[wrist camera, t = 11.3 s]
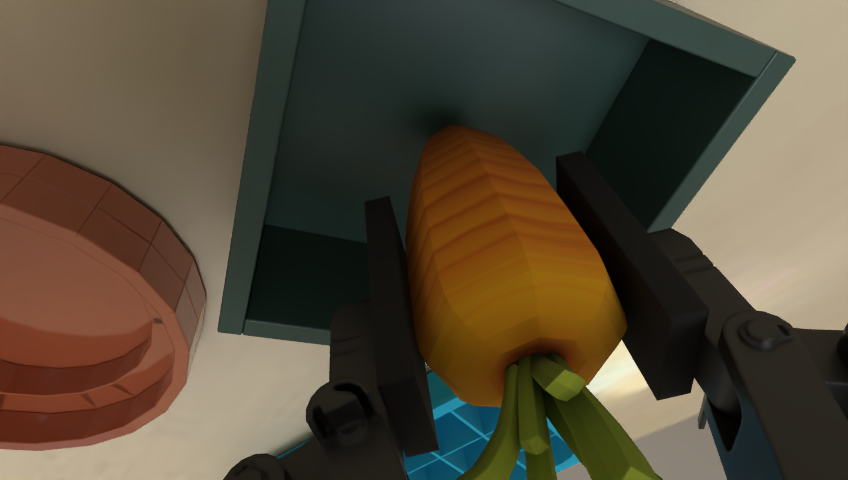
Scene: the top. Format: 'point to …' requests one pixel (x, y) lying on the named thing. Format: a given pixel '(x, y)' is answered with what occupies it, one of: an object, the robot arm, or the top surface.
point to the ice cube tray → (466, 439)
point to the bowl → (87, 307)
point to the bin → (465, 123)
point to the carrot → (513, 307)
